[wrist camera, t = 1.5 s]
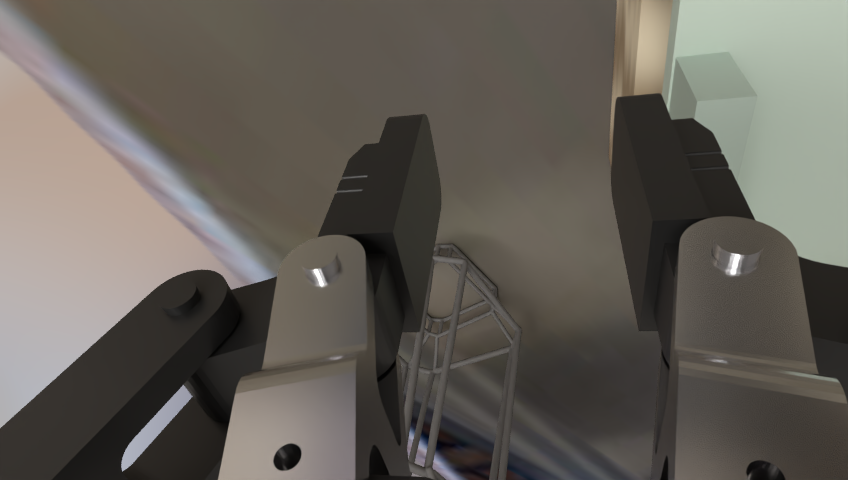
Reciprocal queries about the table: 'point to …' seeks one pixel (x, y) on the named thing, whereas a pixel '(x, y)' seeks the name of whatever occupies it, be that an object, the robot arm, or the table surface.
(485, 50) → the table surface
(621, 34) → the birch box
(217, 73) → the table surface
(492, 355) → the geometric lantern
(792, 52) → the cover plate
